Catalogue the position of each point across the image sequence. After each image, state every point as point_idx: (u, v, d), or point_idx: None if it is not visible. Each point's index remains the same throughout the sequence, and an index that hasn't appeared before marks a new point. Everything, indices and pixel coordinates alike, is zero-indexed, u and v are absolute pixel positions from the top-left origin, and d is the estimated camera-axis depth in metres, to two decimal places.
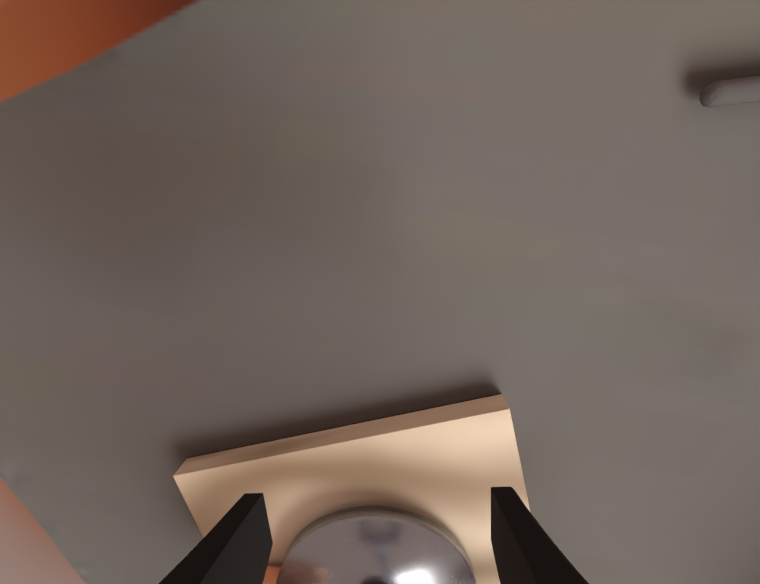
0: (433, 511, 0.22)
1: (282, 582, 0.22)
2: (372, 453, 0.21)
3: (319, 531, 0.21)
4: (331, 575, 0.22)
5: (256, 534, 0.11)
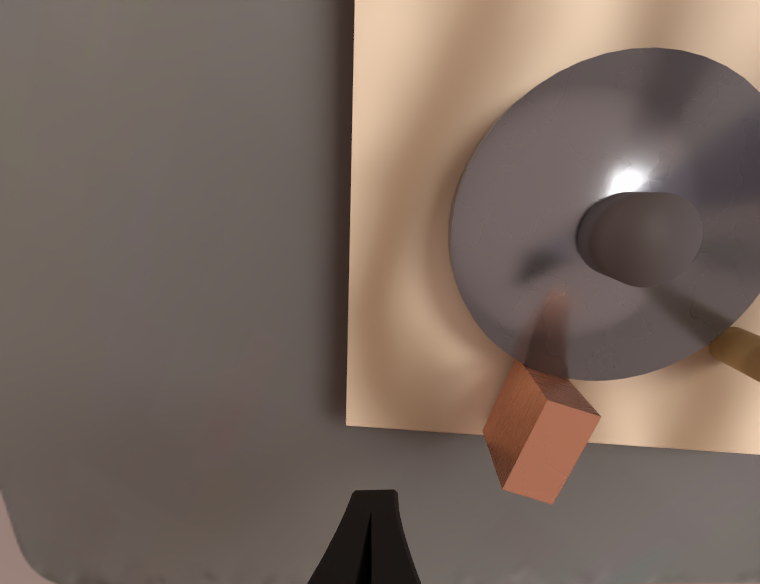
0: (506, 103, 0.14)
1: (525, 356, 0.15)
2: (378, 165, 0.15)
3: (455, 273, 0.14)
4: (539, 284, 0.14)
5: None
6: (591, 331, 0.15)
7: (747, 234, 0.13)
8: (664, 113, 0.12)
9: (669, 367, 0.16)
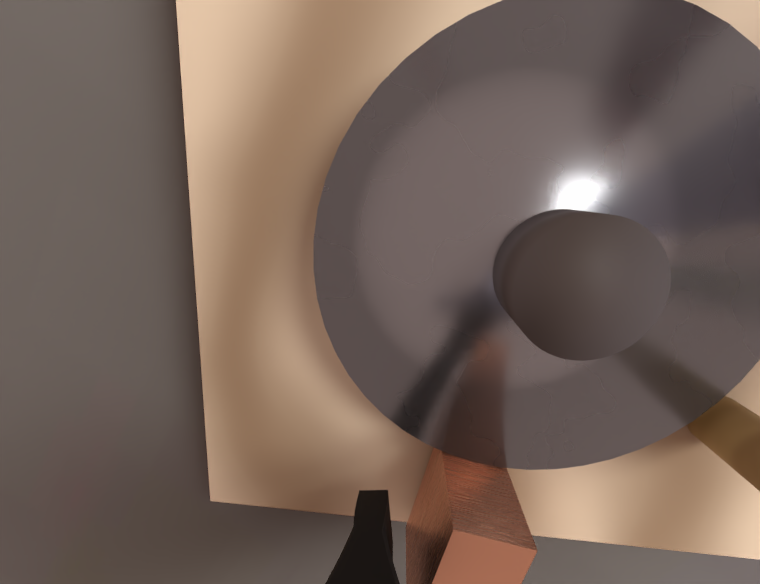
0: None
1: (441, 441, 0.11)
2: (224, 159, 0.10)
3: (328, 334, 0.10)
4: (448, 345, 0.10)
5: (388, 532, 0.11)
6: (530, 405, 0.10)
7: (747, 261, 0.09)
8: (606, 87, 0.08)
9: None
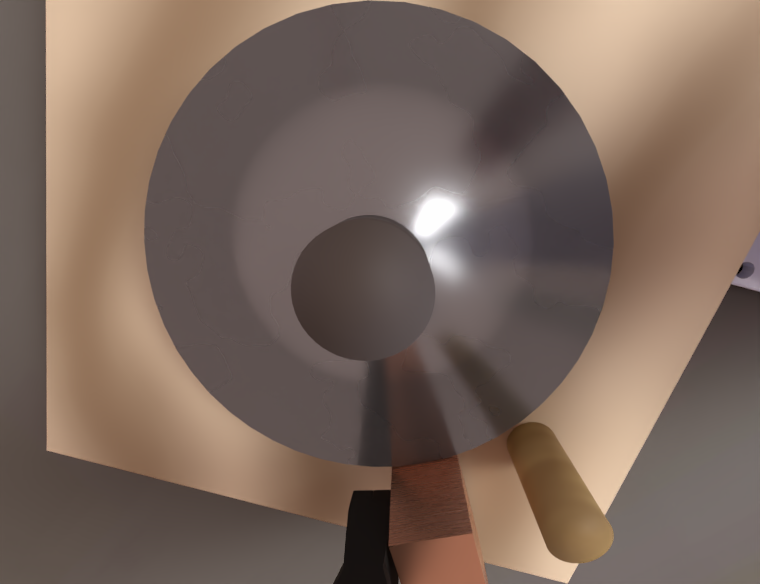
0: None
1: (383, 458, 0.11)
2: (84, 108, 0.10)
3: (236, 415, 0.11)
4: (332, 377, 0.10)
5: None
6: (435, 392, 0.10)
7: (533, 172, 0.09)
8: (308, 109, 0.09)
9: None
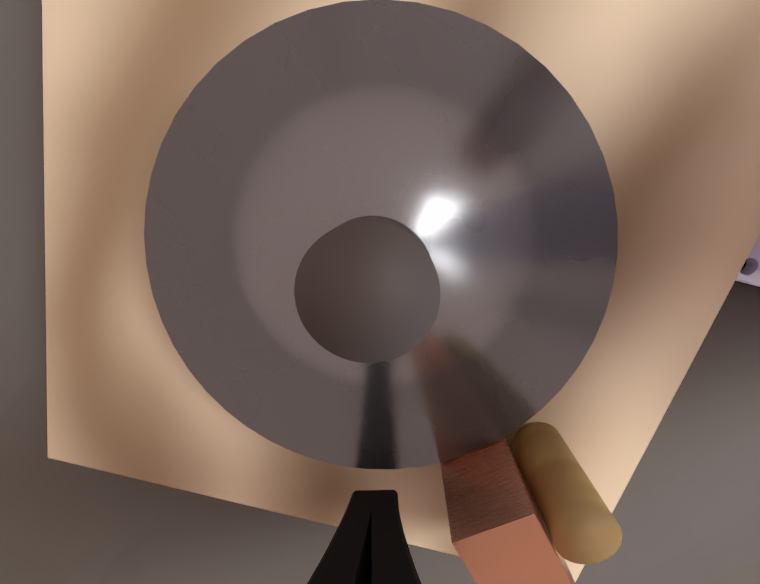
0: None
1: (430, 456, 0.11)
2: (82, 112, 0.10)
3: (276, 442, 0.11)
4: (360, 385, 0.10)
5: None
6: (466, 378, 0.10)
7: (512, 135, 0.08)
8: (276, 128, 0.09)
9: None
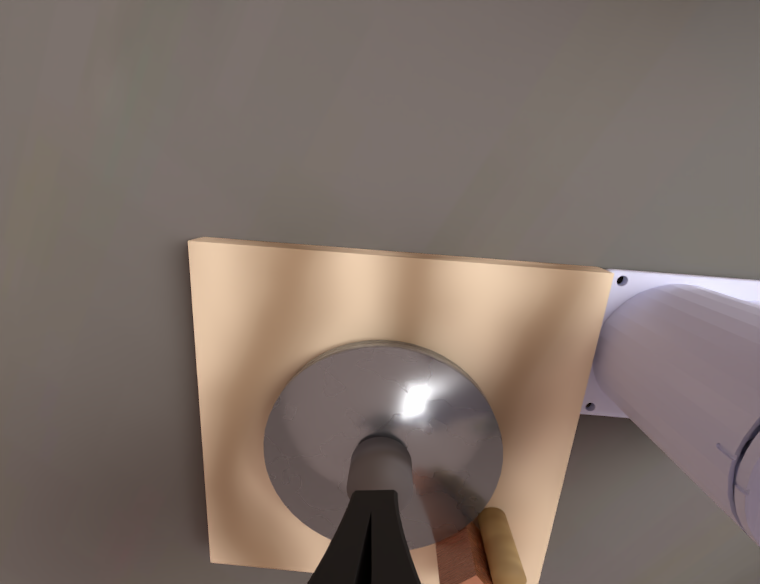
0: (307, 356, 0.19)
1: (428, 540, 0.20)
2: (218, 390, 0.20)
3: None
4: None
5: None
6: (439, 500, 0.19)
7: (436, 392, 0.17)
8: (323, 403, 0.18)
9: None
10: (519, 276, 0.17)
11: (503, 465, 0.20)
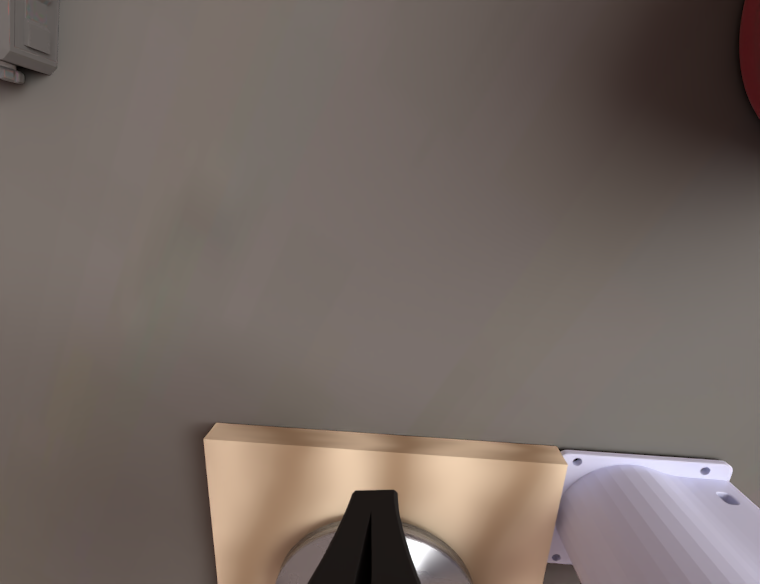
0: (307, 524, 0.22)
1: None
2: (232, 550, 0.23)
3: None
4: None
5: None
6: None
7: (418, 566, 0.20)
8: None
9: None
10: (486, 466, 0.20)
11: None
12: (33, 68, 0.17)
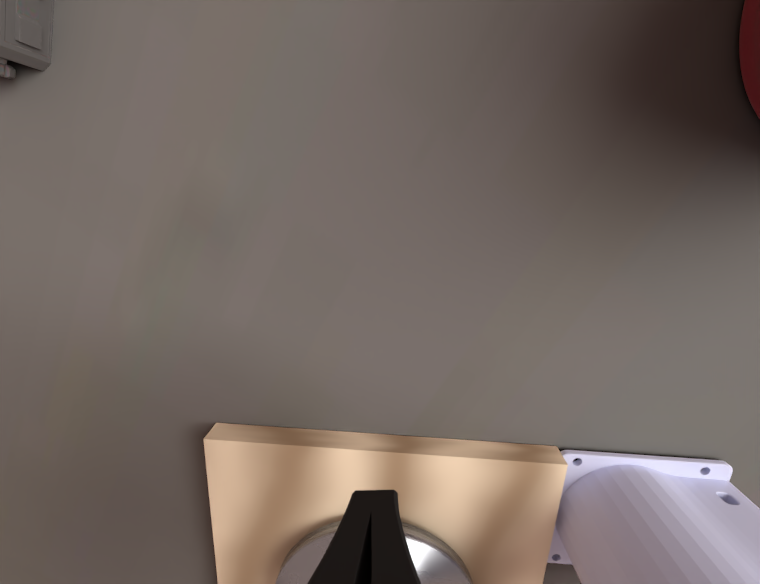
0: (307, 524, 0.22)
1: None
2: (232, 550, 0.23)
3: None
4: None
5: None
6: None
7: (418, 566, 0.20)
8: None
9: None
10: (486, 466, 0.20)
11: None
12: (24, 63, 0.16)
